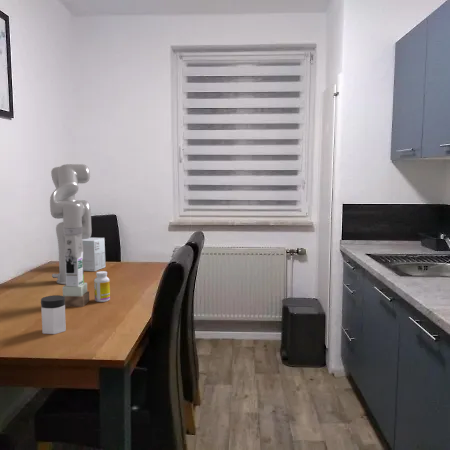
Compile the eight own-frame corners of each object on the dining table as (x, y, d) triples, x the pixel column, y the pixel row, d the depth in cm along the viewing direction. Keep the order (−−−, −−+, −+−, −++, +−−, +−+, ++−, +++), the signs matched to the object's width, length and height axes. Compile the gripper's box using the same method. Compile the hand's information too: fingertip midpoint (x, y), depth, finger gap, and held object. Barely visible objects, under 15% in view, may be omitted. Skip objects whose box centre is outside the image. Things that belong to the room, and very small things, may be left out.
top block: (62, 296, 197) (62, 287, 196) (69, 291, 204) (69, 282, 204) (81, 296, 196) (81, 287, 196) (87, 291, 204) (86, 282, 204)
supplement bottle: (113, 299, 208) (112, 271, 206) (104, 303, 201) (103, 274, 200) (100, 297, 210) (99, 270, 208) (91, 301, 203) (90, 273, 202)
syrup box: (78, 286, 196) (77, 253, 195) (65, 286, 197) (64, 252, 196) (84, 283, 202) (83, 251, 200) (71, 283, 203) (70, 250, 201)
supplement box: (106, 267, 278) (105, 237, 275) (95, 271, 265) (94, 240, 263) (80, 265, 281) (79, 236, 279) (68, 270, 269) (67, 239, 267)
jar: (59, 324, 172) (58, 293, 171) (71, 329, 167) (70, 297, 166) (36, 331, 166) (35, 298, 164) (48, 336, 160) (47, 302, 159)
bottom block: (62, 307, 196) (61, 296, 196) (69, 301, 205) (69, 291, 205) (83, 307, 196) (82, 296, 196) (89, 301, 205) (89, 291, 205)
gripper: (74, 234, 188) (76, 275, 190) (88, 229, 205) (89, 266, 207) (56, 234, 188) (58, 275, 190) (71, 229, 205) (72, 266, 207)
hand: (74, 270), depth 199 cm, fingers open, 9 cm apart
